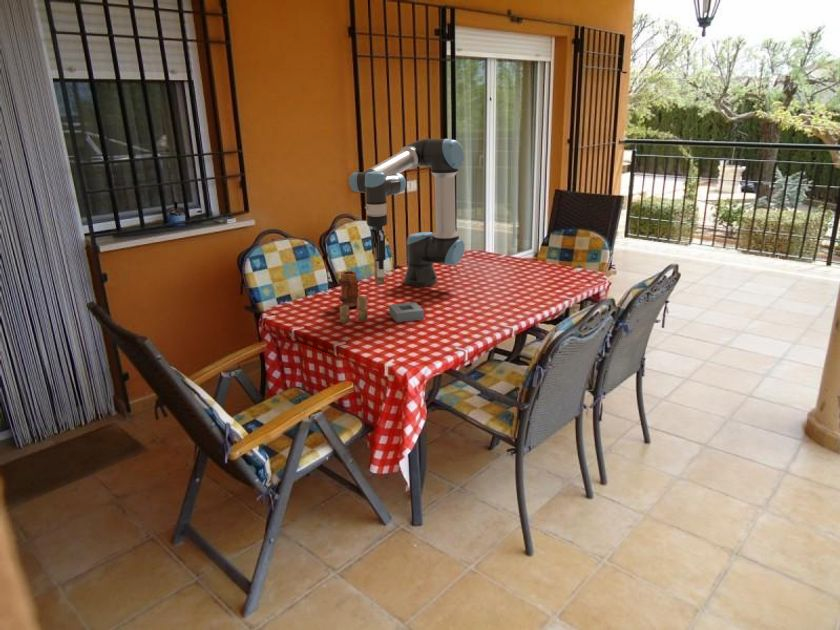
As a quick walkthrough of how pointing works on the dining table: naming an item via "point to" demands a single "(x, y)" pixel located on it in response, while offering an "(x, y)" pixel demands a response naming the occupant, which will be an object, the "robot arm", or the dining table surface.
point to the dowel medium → (362, 308)
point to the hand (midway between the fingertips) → (379, 275)
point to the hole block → (406, 312)
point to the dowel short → (344, 314)
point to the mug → (349, 288)
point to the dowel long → (377, 279)
